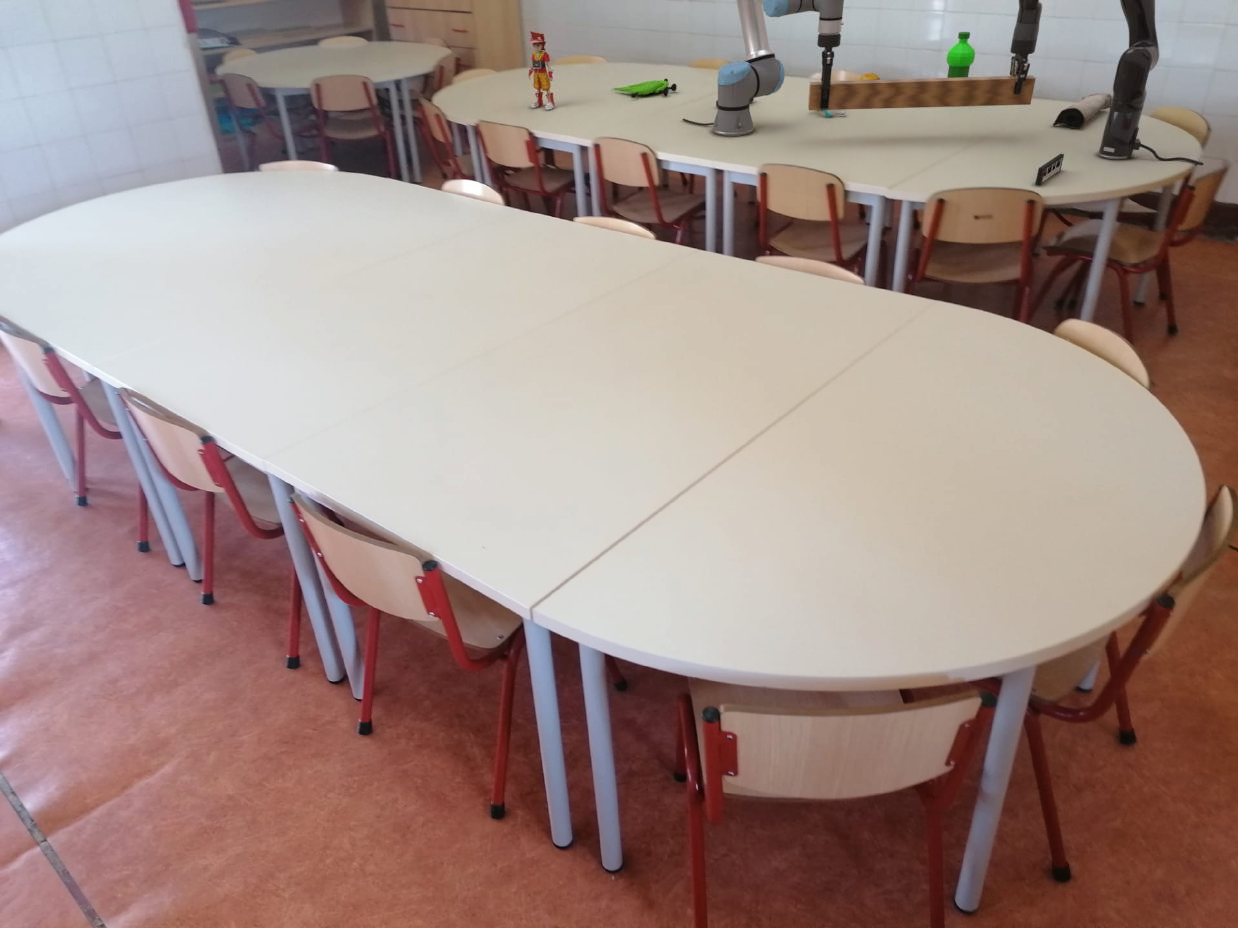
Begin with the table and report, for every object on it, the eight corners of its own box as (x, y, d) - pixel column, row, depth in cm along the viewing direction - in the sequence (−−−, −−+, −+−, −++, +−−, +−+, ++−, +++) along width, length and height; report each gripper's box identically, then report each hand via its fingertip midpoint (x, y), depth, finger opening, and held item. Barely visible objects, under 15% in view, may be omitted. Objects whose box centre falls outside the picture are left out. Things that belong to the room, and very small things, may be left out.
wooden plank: (808, 110, 311) (810, 85, 307) (808, 107, 315) (809, 82, 310) (1030, 104, 303) (1035, 78, 298) (1027, 101, 306) (1032, 75, 301)
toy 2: (686, 85, 398) (631, 84, 414) (685, 72, 395) (629, 72, 411) (651, 104, 381) (596, 103, 397) (650, 92, 378) (594, 91, 394)
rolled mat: (1079, 98, 337) (1104, 81, 329) (1092, 118, 337) (1118, 102, 329) (1048, 120, 320) (1074, 102, 312) (1063, 141, 320) (1088, 124, 312)
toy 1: (525, 109, 381) (517, 32, 364) (534, 104, 388) (527, 28, 371) (550, 110, 377) (543, 32, 360) (559, 105, 384) (553, 28, 367)
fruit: (854, 84, 373) (866, 66, 369) (856, 88, 380) (868, 70, 377) (870, 95, 371) (882, 77, 368) (872, 98, 379) (884, 81, 376)
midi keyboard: (1039, 185, 269) (1043, 168, 266) (1035, 184, 270) (1038, 168, 267) (1060, 170, 279) (1064, 154, 277) (1056, 169, 280) (1060, 153, 277)
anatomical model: (809, 86, 352) (834, 80, 351) (812, 113, 358) (836, 106, 357) (818, 95, 340) (845, 88, 339) (822, 123, 346) (847, 116, 345)
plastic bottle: (973, 101, 354) (984, 32, 339) (955, 106, 349) (966, 36, 335) (952, 97, 361) (962, 29, 346) (934, 102, 356) (944, 33, 342)
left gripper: (842, 38, 291) (836, 112, 305) (839, 28, 305) (833, 100, 319) (819, 38, 292) (813, 113, 306) (817, 29, 306) (812, 100, 320)
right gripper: (1043, 40, 287) (1032, 97, 297) (1031, 33, 299) (1020, 87, 308) (1018, 41, 288) (1008, 97, 298) (1007, 33, 299) (998, 88, 309)
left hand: (823, 106), depth 312 cm, fingers closed on wooden plank, 4 cm apart
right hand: (1014, 92), depth 303 cm, fingers closed on wooden plank, 4 cm apart
